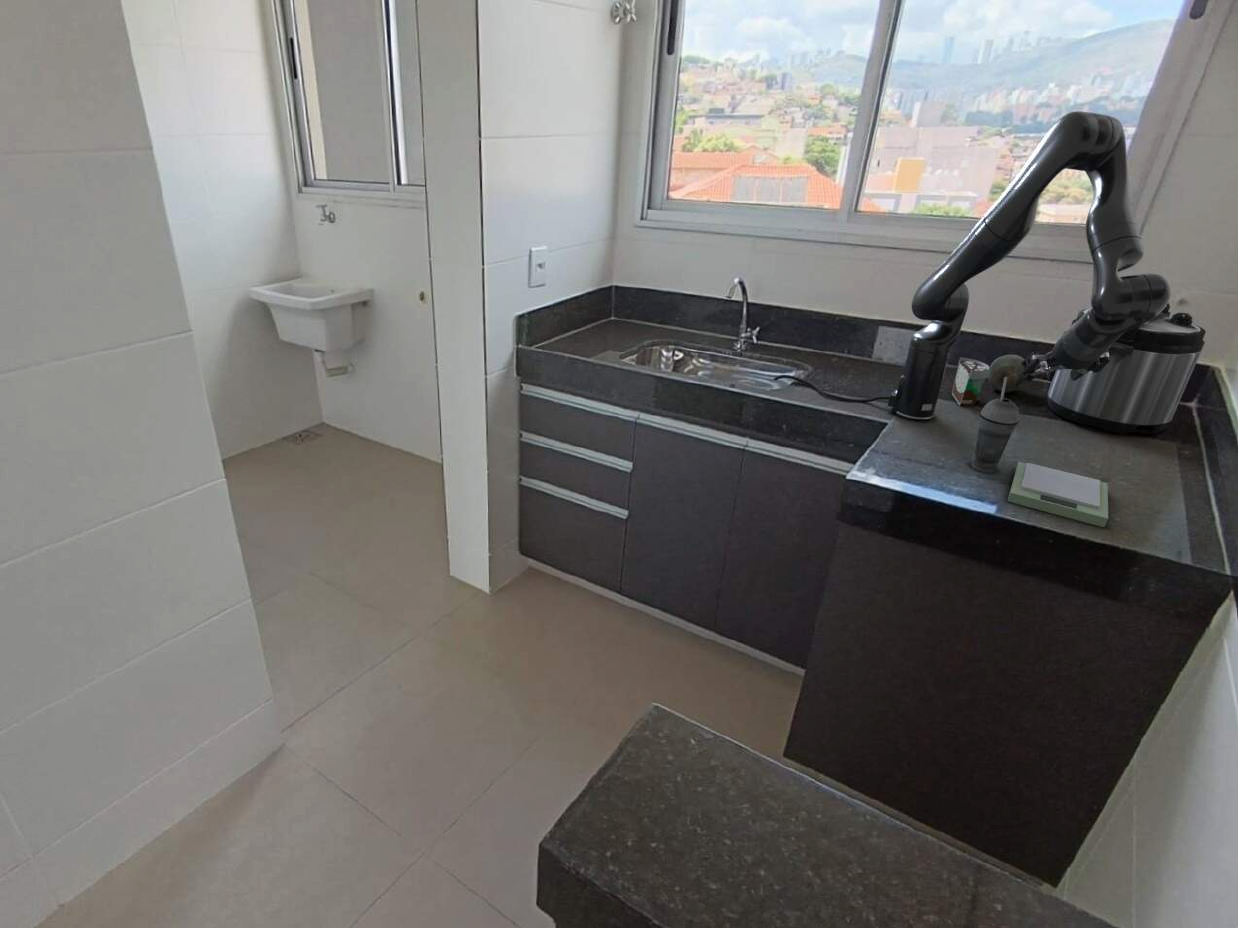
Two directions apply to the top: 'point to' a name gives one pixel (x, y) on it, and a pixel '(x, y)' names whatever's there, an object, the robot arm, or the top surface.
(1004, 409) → the beverage cup
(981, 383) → the food container
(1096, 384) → the pressure cooker
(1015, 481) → the kitchen scale
